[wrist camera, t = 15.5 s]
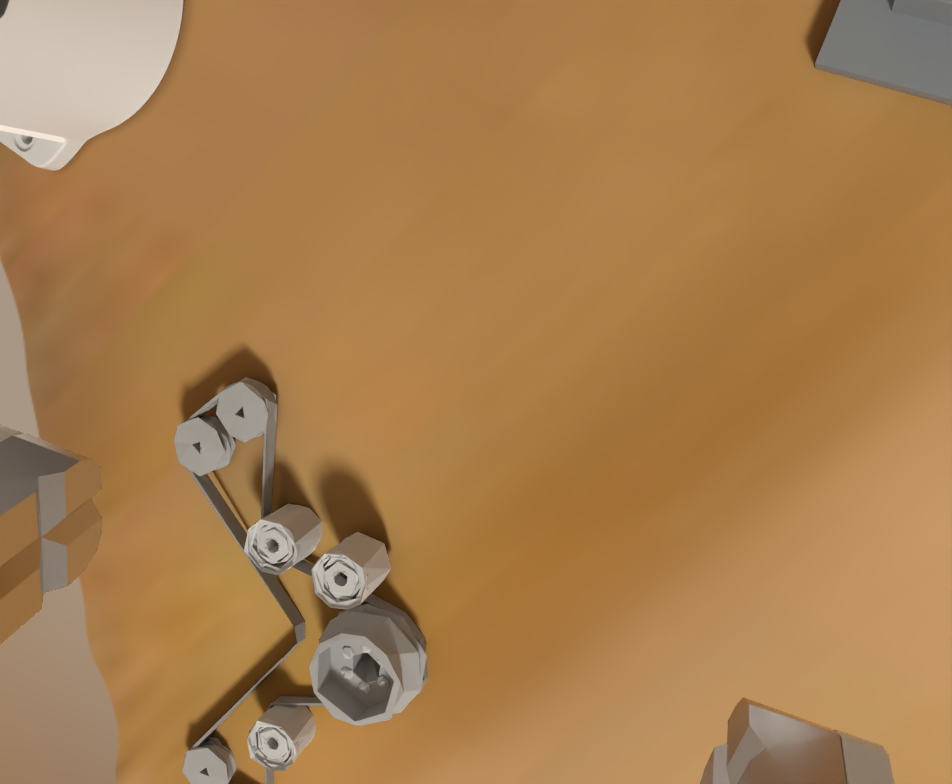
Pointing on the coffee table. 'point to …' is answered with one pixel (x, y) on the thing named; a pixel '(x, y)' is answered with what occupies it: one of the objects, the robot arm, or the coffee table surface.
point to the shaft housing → (893, 45)
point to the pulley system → (335, 582)
